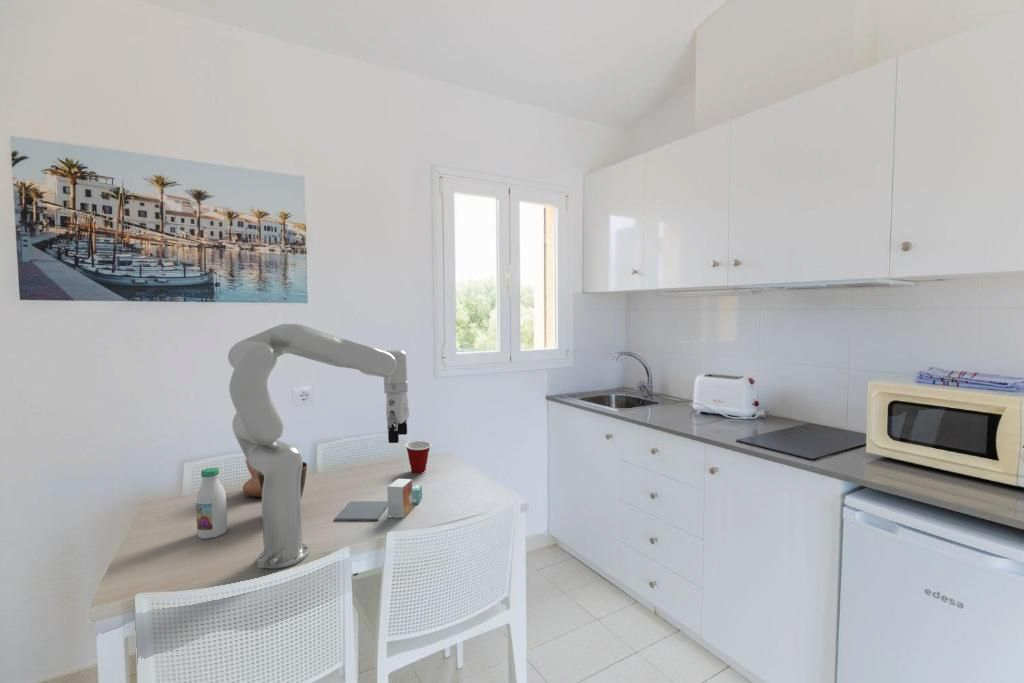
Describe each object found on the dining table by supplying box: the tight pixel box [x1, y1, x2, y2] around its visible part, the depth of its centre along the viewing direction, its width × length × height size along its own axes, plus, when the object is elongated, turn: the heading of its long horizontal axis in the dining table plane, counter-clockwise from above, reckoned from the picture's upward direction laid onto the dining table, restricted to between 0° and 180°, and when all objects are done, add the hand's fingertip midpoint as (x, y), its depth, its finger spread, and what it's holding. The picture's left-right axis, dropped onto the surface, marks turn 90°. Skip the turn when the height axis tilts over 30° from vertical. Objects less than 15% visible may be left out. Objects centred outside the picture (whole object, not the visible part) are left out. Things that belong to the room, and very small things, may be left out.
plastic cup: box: [405, 440, 432, 474], centre depth 200 cm, size 11×11×12 cm
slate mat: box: [334, 500, 388, 522], centre depth 159 cm, size 14×14×1 cm
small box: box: [386, 478, 414, 519], centre depth 158 cm, size 8×6×10 cm
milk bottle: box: [195, 467, 228, 540], centre depth 143 cm, size 8×8×20 cm
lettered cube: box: [412, 484, 423, 504], centre depth 168 cm, size 5×5×5 cm
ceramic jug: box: [242, 457, 262, 498], centre depth 177 cm, size 18×14×14 cm
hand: (398, 438), depth 157 cm, fingers open, 9 cm apart
